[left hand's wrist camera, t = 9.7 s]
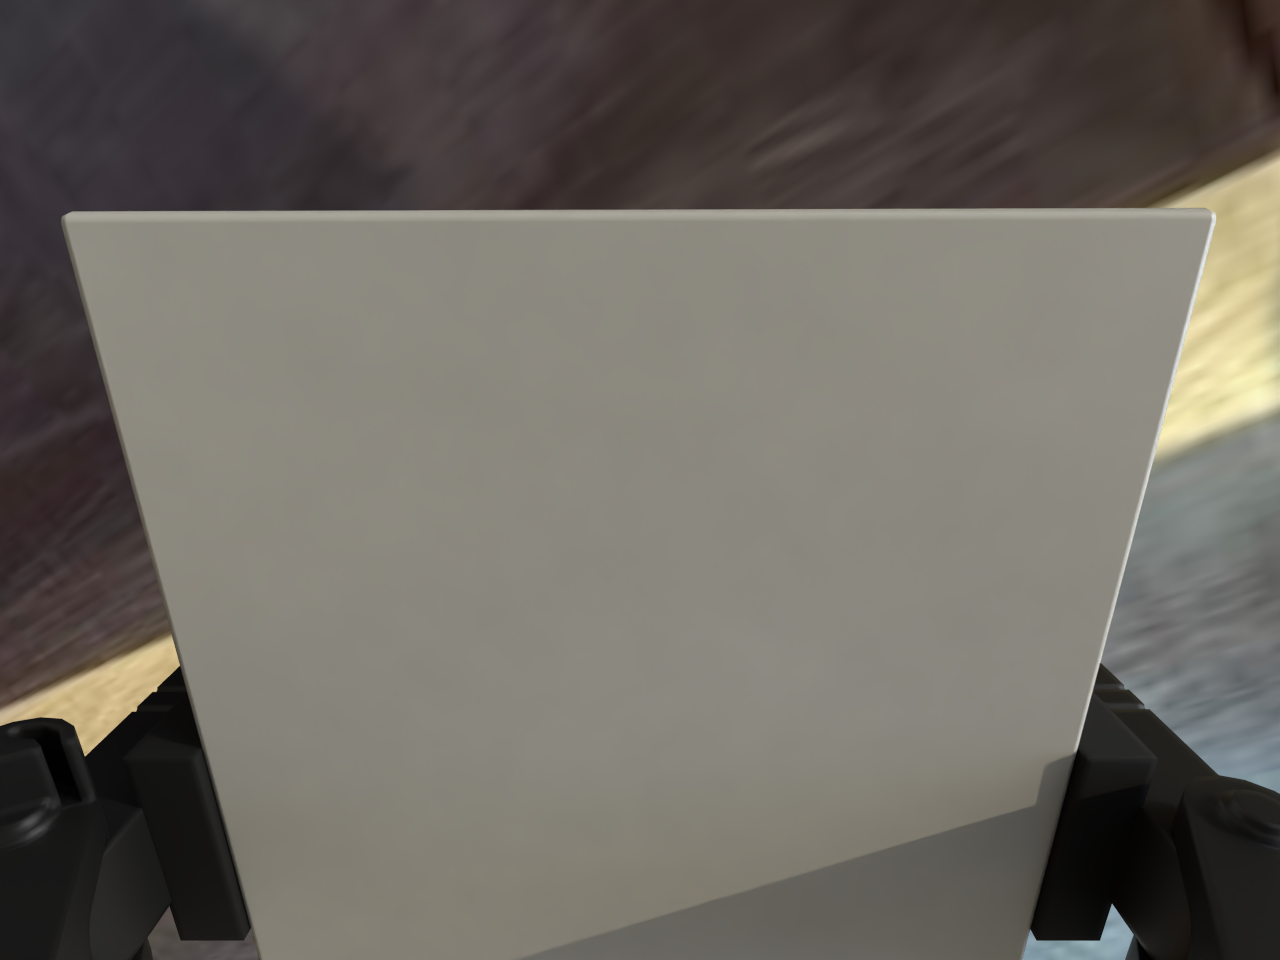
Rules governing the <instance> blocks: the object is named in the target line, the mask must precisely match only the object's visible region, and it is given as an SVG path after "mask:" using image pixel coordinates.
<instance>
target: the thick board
mask: <svg viewBox="0 0 1280 960" xmlns="http://www.w3.org/2000/svg"><path fill="white" fill-rule="evenodd" d="M1215 223H1216V213H1214V212H1212V211H1210V210H1208V209H1206V208H1043V209H723V210H403V211H83V212H70V213H68V214H66V215H64V216H62V220H61V225H62V229H63V232H64V236H65V240H66V244H67V247H68V251H69V255H70V258H71V262H72V266H73V270H74V273H75V277H76V281H77V284H78V288H79V292H80V296H81V299H82V303H83V307H84V310H85V314H86V318H87V322H88V325H89V329H90V333H91V336H92V340H93V344H94V348H95V351H96V355H97V359H98V362H99V366H100V370H101V373H102V377H103V381H104V385H105V388H106V392H107V396H108V399H109V403H110V407H111V411H112V414H113V418H114V422H115V425H116V429H117V433H118V437H119V440H120V444H121V448H122V451H123V455H124V459H125V463H126V466H127V470H128V474H129V477H130V481H131V485H132V489H133V492H134V496H135V500H136V503H137V507H138V511H139V515H140V518H141V522H142V526H143V529H144V533H145V537H146V540H147V544H148V548H149V552H150V555H151V559H152V563H153V566H154V570H155V574H156V578H157V581H158V585H159V589H160V592H161V596H162V600H163V604H164V607H165V611H166V615H167V618H168V622H169V626H170V630H171V633H172V637H173V641H174V644H175V648H176V652H177V656H178V659H179V663H180V667H181V670H182V674H183V678H184V681H185V685H186V689H187V693H188V696H189V700H190V704H191V707H192V711H193V715H194V719H195V722H196V726H197V730H198V733H199V737H200V741H201V745H202V748H203V752H204V756H205V759H206V763H207V767H208V771H209V774H210V778H211V782H212V785H213V789H214V793H215V797H216V800H217V804H218V808H219V811H220V815H221V819H222V823H223V826H224V830H225V834H226V837H227V841H228V845H229V848H230V852H231V856H232V860H233V863H234V867H235V871H236V874H237V878H238V882H239V886H240V889H241V893H242V897H243V900H244V904H245V908H246V912H247V915H248V919H249V923H250V926H251V930H252V934H253V938H254V941H255V945H256V949H257V952H258V956H259V960H1022V958H1023V955H1024V951H1025V947H1026V943H1027V939H1028V935H1029V932H1030V928H1031V924H1032V920H1033V916H1034V913H1035V909H1036V905H1037V901H1038V897H1039V894H1040V890H1041V886H1042V882H1043V878H1044V875H1045V871H1046V867H1047V863H1048V859H1049V855H1050V852H1051V848H1052V844H1053V840H1054V836H1055V833H1056V829H1057V825H1058V821H1059V817H1060V814H1061V810H1062V806H1063V802H1064V798H1065V794H1066V791H1067V787H1068V783H1069V779H1070V775H1071V772H1072V768H1073V764H1074V760H1075V756H1076V753H1077V749H1078V745H1079V741H1080V737H1081V734H1082V730H1083V726H1084V722H1085V718H1086V714H1087V711H1088V707H1089V703H1090V699H1091V695H1092V692H1093V688H1094V684H1095V680H1096V676H1097V673H1098V669H1099V665H1100V661H1101V657H1102V653H1103V650H1104V646H1105V642H1106V638H1107V634H1108V631H1109V627H1110V623H1111V619H1112V615H1113V612H1114V608H1115V604H1116V600H1117V596H1118V593H1119V589H1120V585H1121V581H1122V577H1123V573H1124V570H1125V566H1126V562H1127V558H1128V554H1129V551H1130V547H1131V543H1132V539H1133V535H1134V532H1135V528H1136V524H1137V520H1138V516H1139V513H1140V509H1141V505H1142V501H1143V497H1144V493H1145V490H1146V486H1147V482H1148V478H1149V474H1150V471H1151V467H1152V463H1153V459H1154V455H1155V452H1156V448H1157V444H1158V440H1159V436H1160V432H1161V429H1162V425H1163V421H1164V417H1165V413H1166V410H1167V406H1168V402H1169V398H1170V394H1171V391H1172V387H1173V383H1174V379H1175V375H1176V372H1177V368H1178V364H1179V360H1180V356H1181V352H1182V349H1183V345H1184V341H1185V337H1186V333H1187V330H1188V326H1189V322H1190V318H1191V314H1192V311H1193V307H1194V303H1195V299H1196V295H1197V292H1198V288H1199V284H1200V280H1201V276H1202V272H1203V269H1204V265H1205V261H1206V257H1207V253H1208V250H1209V246H1210V242H1211V238H1212V234H1213V231H1214V227H1215Z"/></svg>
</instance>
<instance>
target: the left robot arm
mask: <svg viewBox="0 0 1280 960" xmlns="http://www.w3.org/2000/svg"><path fill="white" fill-rule="evenodd" d="M157 688H158V690H157V692H152V693H151V694H150V695H149V696H148V697H147V698H146V699H145V700H144V701H143V702H142V703H141V704H140V705H139V706H138V707H137V711H136V712H131V713H130V714H129V715H128V716H127V717H126V718H125V719H124V720H123V721H122V722H121V723H120V724H119V725H118V726H117V727H116V728H115V729H114V730H113V731H112V732H111V733H109V734H108V735H107V736H106V737H105V738H104V739H103V740H102V741H101V742H100V743H99V744H98V745H97V746H96V747H95V748H94V749H93V750H92V751H91V752H90V753H89V754H88V755H87V756H84V753H83V750H82V747H81V745H80V742H79V739H78V736H77V733H76V730H75V727H74V726H73V725H71V724H70V723H68V722H66V721H65V720H63V719H56V718H42V717H40V718H34V719H28V720H22V721H16V722H11V723H8V724H5V725H2V726H0V960H153V957H152V951H151V947H150V944H149V941H148V938H147V937H148V936H149V934H150V933H151V932H152V930H153V929H154V927H155V926H156V924H157V923H158V921H159V920H160V919H161V917H162V916H163V914H164V913H165V911H166V910H167V908H168V907H169V906H170V909H171V912H172V915H173V918H174V921H175V924H176V927H177V930H178V933H179V936H180V940H244V939H245V937H246V936H247V934H248V932H249V930H250V928H251V926H250V923H249V919H248V915H247V912H246V908H245V904H244V900H243V897H242V893H241V889H240V886H239V882H238V878H237V874H236V871H235V867H234V863H233V860H232V856H231V852H230V848H229V845H228V841H227V837H226V834H225V830H224V826H223V823H222V819H221V815H220V811H219V808H218V804H217V800H216V797H215V793H214V789H213V785H212V782H211V778H210V774H209V771H208V767H207V763H206V759H205V756H204V752H203V748H202V745H201V741H200V737H199V733H198V730H197V726H196V722H195V719H194V715H193V711H192V707H191V704H190V700H189V696H188V693H187V689H186V685H185V681H184V678H183V674H182V670H181V667H180V666H179V667H178V668H177V669H176V670H175V671H174V672H173V673H172V674H171V675H170V676H169V677H168V678H167V679H166V680H165V681H164V682H163V683H162V684H161V685H160V686H158V687H157ZM1111 904H1113V905H1114V907H1115V908H1116V910H1117V911H1118V912H1119V914H1120V915H1121V917H1122V918H1123V920H1124V921H1125V923H1126V924H1127V925H1128V927H1129V928H1130V930H1131V931H1132V933H1133V934H1134V936H1133V938H1132V941H1131V944H1130V947H1129V950H1128V953H1127V956H1126V959H1125V960H1280V794H1279V793H1277V792H1275V791H1273V790H1270V789H1268V788H1265V787H1262V786H1259V785H1257V784H1254V783H1251V782H1249V781H1246V780H1242V779H1236V778H1231V777H1225V776H1220V775H1218V774H1217V773H1216V772H1215V771H1214V770H1213V769H1211V768H1210V767H1209V766H1208V765H1207V764H1206V763H1205V762H1204V761H1203V760H1202V759H1201V758H1200V757H1199V756H1198V755H1197V754H1196V753H1195V752H1194V751H1193V750H1192V749H1190V748H1189V747H1188V746H1187V745H1186V744H1185V743H1184V742H1183V741H1182V740H1181V739H1180V738H1179V737H1178V736H1177V735H1176V734H1175V733H1174V732H1173V731H1172V730H1171V729H1169V728H1168V727H1167V726H1166V725H1165V724H1164V723H1163V722H1162V721H1161V720H1160V719H1159V718H1158V717H1157V716H1156V715H1155V714H1154V713H1153V712H1152V711H1151V710H1150V709H1145V708H1144V704H1143V703H1142V702H1141V701H1140V700H1139V699H1138V698H1137V697H1136V696H1135V695H1134V694H1133V693H1132V692H1131V691H1130V690H1125V689H1124V685H1123V684H1122V683H1121V682H1120V681H1119V680H1118V679H1117V678H1116V677H1115V676H1114V675H1113V674H1112V673H1111V672H1110V671H1109V670H1108V669H1106V668H1105V667H1104V666H1103V665H1102V664H1101V663H1100V665H1099V669H1098V673H1097V676H1096V680H1095V684H1094V688H1093V692H1092V695H1091V699H1090V703H1089V707H1088V711H1087V714H1086V718H1085V722H1084V726H1083V730H1082V734H1081V737H1080V741H1079V745H1078V749H1077V753H1076V756H1075V760H1074V764H1073V768H1072V772H1071V775H1070V779H1069V783H1068V787H1067V791H1066V794H1065V798H1064V802H1063V806H1062V810H1061V814H1060V817H1059V821H1058V825H1057V829H1056V833H1055V836H1054V840H1053V844H1052V848H1051V852H1050V855H1049V859H1048V863H1047V867H1046V871H1045V875H1044V878H1043V882H1042V886H1041V890H1040V894H1039V897H1038V901H1037V905H1036V909H1035V913H1034V916H1033V920H1032V924H1031V928H1030V929H1031V931H1032V933H1033V935H1034V936H1035V938H1036V940H1091V941H1100V938H1101V935H1102V932H1103V929H1104V926H1105V923H1106V920H1107V917H1108V914H1109V911H1110V908H1111Z"/></svg>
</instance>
